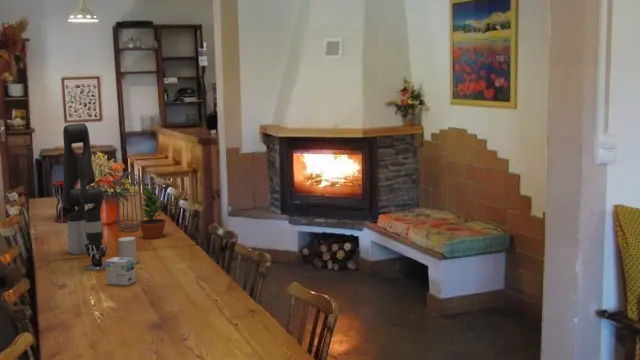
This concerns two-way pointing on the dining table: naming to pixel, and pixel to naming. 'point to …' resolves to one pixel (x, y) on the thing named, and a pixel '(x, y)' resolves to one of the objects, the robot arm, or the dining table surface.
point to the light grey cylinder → (127, 248)
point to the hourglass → (63, 210)
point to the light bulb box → (120, 271)
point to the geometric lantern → (131, 198)
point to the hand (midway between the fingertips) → (97, 265)
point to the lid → (95, 265)
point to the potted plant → (151, 216)
